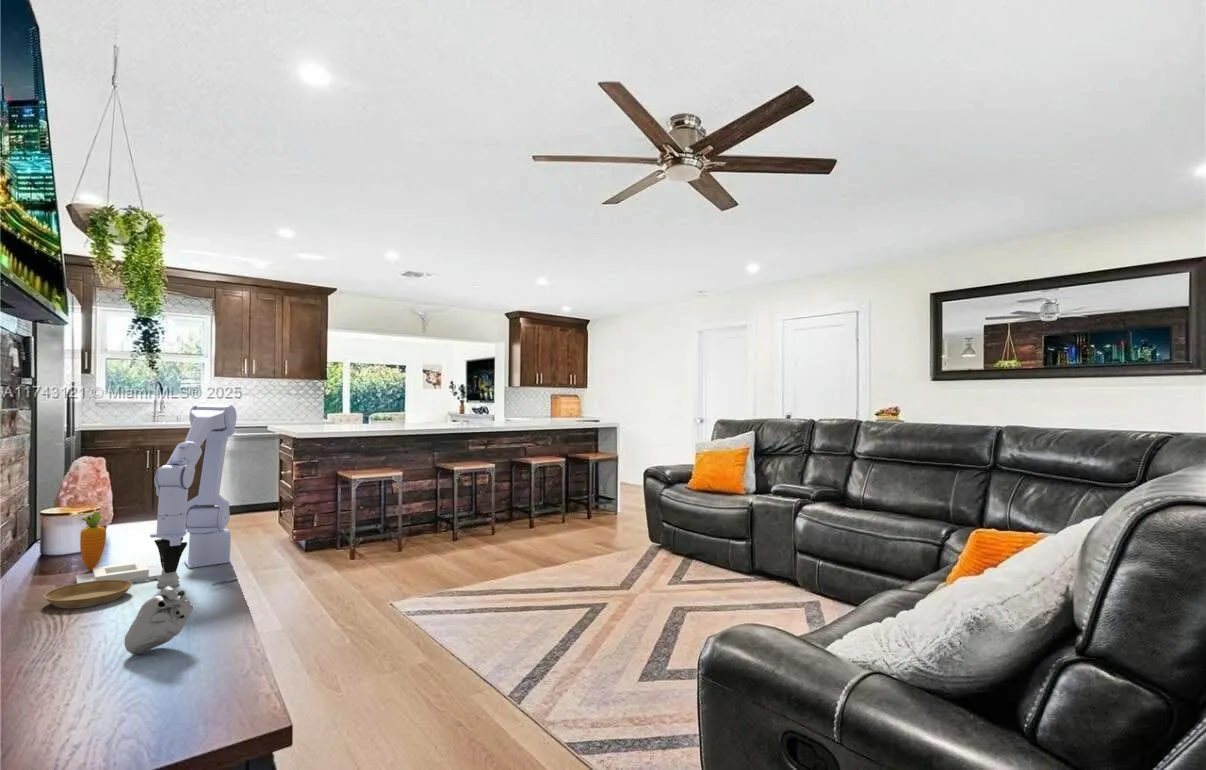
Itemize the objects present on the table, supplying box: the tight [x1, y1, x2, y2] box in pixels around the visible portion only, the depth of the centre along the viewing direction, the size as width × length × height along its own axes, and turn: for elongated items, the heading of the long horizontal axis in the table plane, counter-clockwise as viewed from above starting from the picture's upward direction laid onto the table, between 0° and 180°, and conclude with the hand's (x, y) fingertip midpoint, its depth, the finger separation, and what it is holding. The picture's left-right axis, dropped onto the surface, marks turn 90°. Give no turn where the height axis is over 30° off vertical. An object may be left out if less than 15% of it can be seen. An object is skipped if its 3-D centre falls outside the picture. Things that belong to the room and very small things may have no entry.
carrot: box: [79, 511, 107, 572], centre depth 148 cm, size 5×5×15 cm
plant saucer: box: [43, 580, 133, 609], centre depth 127 cm, size 15×15×3 cm
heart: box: [124, 586, 195, 655], centre depth 103 cm, size 10×10×12 cm
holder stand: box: [75, 560, 163, 584], centre depth 142 cm, size 16×12×2 cm
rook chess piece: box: [156, 563, 180, 589], centre depth 139 cm, size 4×4×8 cm
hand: (169, 570), depth 139 cm, fingers open, 4 cm apart
